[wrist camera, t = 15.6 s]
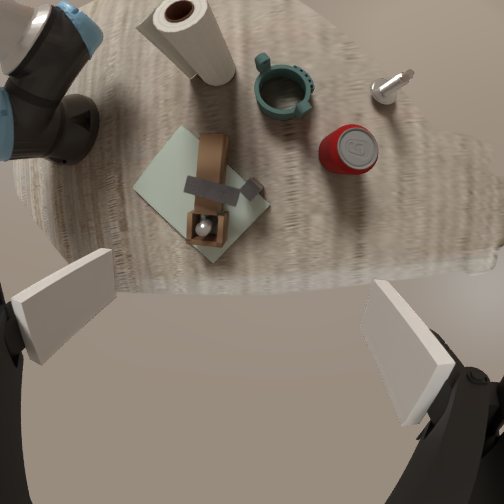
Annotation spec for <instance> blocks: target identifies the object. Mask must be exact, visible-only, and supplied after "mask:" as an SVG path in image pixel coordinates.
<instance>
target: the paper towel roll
mask: <svg viewBox="0 0 504 504" xmlns="http://www.w3.org/2000/svg"><path fill="white" fill-rule="evenodd" d="M135 28H136V29H137V30H138V31H139V32H140V33H141V34H143V35H144V36H145V37H146V38H147V39H148V40H149V41H150V42H151V43H153V44H154V45H155V46H156V47H157V48H158V49H159V50H160V51H161V52H162V53H163V54H165V55H166V56H167V57H168V58H169V59H170V60H171V61H172V62H173V63H174V64H175V65H176V66H177V67H178V68H179V69H180V70H181V71H182V72H183V73H184V74H185V75H186V76H187V77H188V78H189V79H190V78H192V77H193V76H194V75H195V74H196V73H197V74H198V75H199V76H200V77H201V78H202V80H203V81H204V82H206V83H207V84H209V85H213V86H219V85H224V84H226V83H227V82H229V81H230V80H231V79H232V78H233V76H234V74H235V71H236V69H235V64H234V61H233V59H232V57H231V54H230V52H229V49H228V47H227V45H226V42H225V40H224V38H223V35H222V33H221V31H220V28H219V26H218V24H217V22H216V19H215V17H214V15H213V13H212V11H211V8H210V6H209V4H208V2H207V0H165V1H163V2H162V3H160V4H159V5H158V6H156V7H155V8H154V9H153V10H152V11H151V13H150V14H149V15H148V16H147V17H146V19H144V20H143V21H142V22H141V23H140V24H139V25H138V26H136V27H135Z"/></svg>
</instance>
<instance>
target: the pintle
mask: <svg viewBox="0 0 504 504" xmlns="http://www.w3.org/2000/svg"><path fill="white" fill-rule="evenodd" d="M217 224H218V219H217V217H216V216H214V215H211V216H209V217H207V218H206V219H204V220H203V221H201V222H200V223H199V224H197V226H196V228H195V230H196V233H197V234H198V235H199V236H206V235H207V234H208V233H209V232H210V231H211V230H212V229H213V228H214V227H215V226H217Z"/></svg>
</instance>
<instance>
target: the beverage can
mask: <svg viewBox="0 0 504 504" xmlns="http://www.w3.org/2000/svg"><path fill="white" fill-rule="evenodd" d="M319 158H320V161H321V163H322V164H323V166H324V167H325V168H326V169H327V170H329V171H331V172H333V173H337V174H350V175H359V174H363V173H366V172H368V171H369V170H370V169H372V168H373V166H374V165H375V163H376V161H377V158H378V145H377V142H376V140H375V138H374V136H373V135H372V134H371V133H370V132H369V131H368V130H367V129H365V128H364V127H362V126H359V125H354V124H349V125H345V126H342V127H340V128H339V129H337V130H335V131H334V132H332V133H331V134H329V135H328V136H327V137H325V138H324V139H323V140H322V142H321V144H320V146H319Z"/></svg>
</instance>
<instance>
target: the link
mask: <svg viewBox="0 0 504 504" xmlns="http://www.w3.org/2000/svg"><path fill="white" fill-rule="evenodd" d="M228 146H229V137H227V136H226V135H224V134H214V133H200V137H199V148H198V159H197V172H196V177H198V178H202V179H206V180H209V181H213V182H217V183H220V184H224V185H225V180H226V168H227V157H228ZM223 205H224V203H221V202H217V201H214V200H210V199H206V198H203V197H199V196H196V195H195V202H194V210H192V211H190V212H188V213H187V231H186V244H191V245H200V246H209V247H218V248H222V247H223V245H224V244H225V242H226V241H227V237H228V223H229V211H224V212H223V213H221V212H222V211H223ZM220 213H221V214H220ZM201 214H204V215H216V216H217V215H218V214H220V215H219V216H218V231H217V234H212V233H208V234H207V235H206V236H199V235H198V234H197V233H196V230H195V228H196V226H197V224H199V223H200V217H201Z"/></svg>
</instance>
